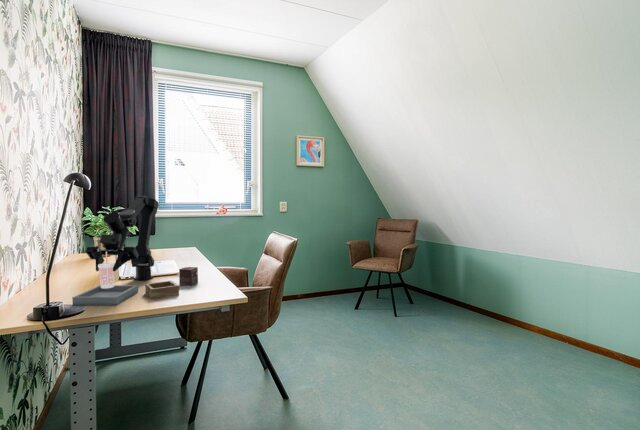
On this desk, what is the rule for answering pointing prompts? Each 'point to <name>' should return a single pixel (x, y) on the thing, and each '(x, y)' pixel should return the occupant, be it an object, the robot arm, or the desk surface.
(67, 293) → the desk surface
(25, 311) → the desk surface
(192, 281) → the box
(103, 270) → the beverage cup
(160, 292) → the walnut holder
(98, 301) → the charcoal tray
